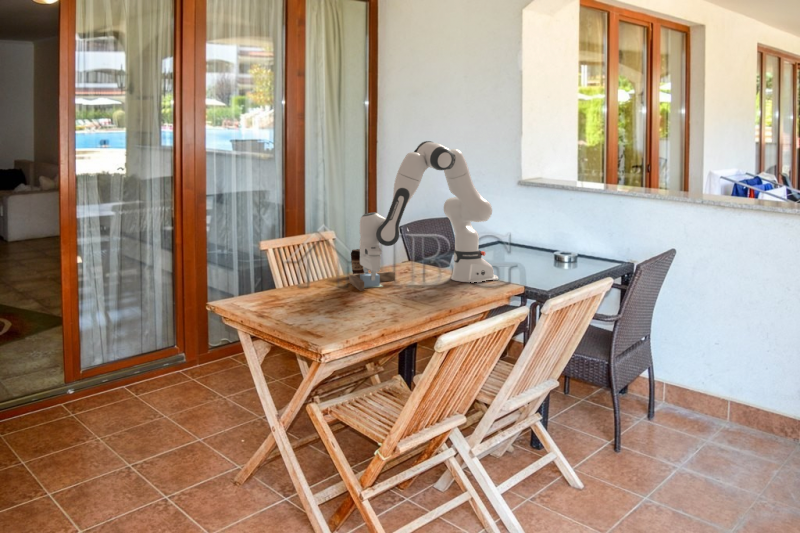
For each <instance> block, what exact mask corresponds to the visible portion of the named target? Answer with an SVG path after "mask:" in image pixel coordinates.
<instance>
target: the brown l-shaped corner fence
mask: <svg viewBox="0 0 800 533" xmlns="http://www.w3.org/2000/svg"><path fill="white" fill-rule="evenodd" d="M376 273H377V274H379V275H380V282H387V281H388V282H391V281H395V280H396V276H395V275H396V272H395V271H394V270H393V271H389V270H388V271H379V272H376ZM360 274H364V273H360ZM360 274H353V273H352V274H349V276H348V277H349V282H348V283H349V284H350V285H351V284H352V285H351V286H352V287H354V288H355V289H357V290H359V291H360V292H361V291H365V289H368V288H369V289H370V288H383V287H384V285H382V284H381V283H380V286H372V287H364V281H363V280H361V279H360ZM369 274H371V272H369Z"/></svg>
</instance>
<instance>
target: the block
mask: <svg viewBox="0 0 800 533" xmlns="http://www.w3.org/2000/svg"><path fill="white" fill-rule="evenodd" d="M370 276H371V274H360V279H361V280H363V281H364V287H372V286H380V284H381V281H380V275H379V274H377V273H376V276H375V280H374V281H372V280H371V279H370ZM372 288H373V287H372Z"/></svg>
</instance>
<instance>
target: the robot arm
mask: <svg viewBox="0 0 800 533" xmlns="http://www.w3.org/2000/svg"><path fill="white" fill-rule="evenodd" d="M428 168H431V169H435V170H436V171H443V173H444V176H445V179H446V183H447V187H448V190H449V191H450V193H451V194H453V195H454V196H453V197H449V198H447V199H446V200H445V201H444V204H443V212H444V213H443V214H444V215H445V216H446V217H447V218H448V219H449V221H450V223H451V225H452V229H453V231H454V232H453V233H454V246H455V247H454V250H453V260H454V262H453V270H452V274H451V277H450V279H451V280H452V281H456V282H462V283H470V282H471V284H472V283H473V284H475V283H474V282H477V283H483V282H482V281H485V282H487V281H486V280H493V281H498V280H499V276H498V275H497V274H494V273H495V272H494V268H493V265H492V264H490V263H489V262H488V261H487V260H485V259H484V258H483V257H485V256H486V251H484V250H482V251H481V250H479V242H480V239H479V238H480V235H479V233H478V231H477V230H476V229H474V227H473V225H472V222H473V223H482V222H483V223H484V222H487V221H489V220H490V219H491V217H492V213H493V208H492V204H491V203H490V202H489V201H488V200H486V199H485V198H484V197H483V196H482V195H481V194H480V192H479V191H478V190H477V188H476V186H475V185H474V182H473V180H472V177H471V172H470V170H469V167H468V163H467V161H466V158H465V156H464V154H463V152H462V151H461V150H459V149H456V148H452V149H451V148H450V149H449V148H448V147H446V146H444V145H443V144H440V143H439V142H438V143H437V142H434V141H430V140H426V141H422V142H421V143H419V144H418V145H417V147H416V148H415V150H414V151H410V152H408V153H406V155H405V157H404V158H403V160H402V162H401V163H400V166H399V167H398V171H397V173H396V176H395V180H394V184H393V195H392V202H391V205H390V207H389V210H388V213H387V215H386V217H384V216H382V215H380V214H379V213H378V212H367V213H364V214H363V215H361V217H360V218H359V219H360V220H359V235H360V238H359V249H360V265H362V266H363V269H364V274H369V273H371V276H370V279H371V280H372V281H374V280H375V276H376V272H381V271H380V270H381V262H382V261H381V260H382V259H381V258H382V257H381V255H382V252H383V251H382V248H381V247H380V244H381V245H383V246H385V247H390V246H393V245H395V244H397V242H398V240H399V238H400V229H401V228H400V224H401V220H402V217H403V215H404V213H405V209H406V207H407V206H408V203H410V200H412V198H413V196H414V195H415V194H416V192H417V190H418V188H419V186H420V184H421V181H422V179H423V175H424V173H425V172H426V171H427V169H428ZM482 256H483V257H482ZM369 271H370V272H369Z"/></svg>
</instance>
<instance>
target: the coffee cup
mask: <svg viewBox="0 0 800 533" xmlns="http://www.w3.org/2000/svg"><path fill="white" fill-rule="evenodd" d="M350 261H351V271H352V274H360V273H364V269H363V266H362V265H360V248H356V249H352V250H351V252H350Z"/></svg>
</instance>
